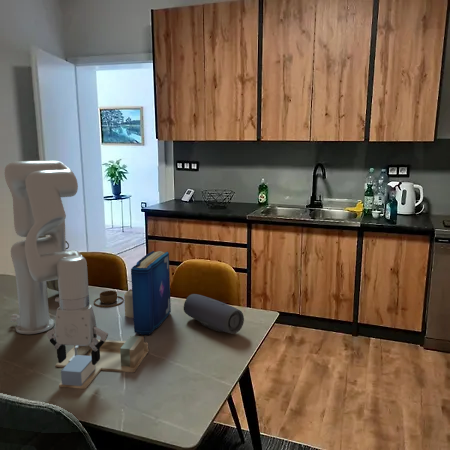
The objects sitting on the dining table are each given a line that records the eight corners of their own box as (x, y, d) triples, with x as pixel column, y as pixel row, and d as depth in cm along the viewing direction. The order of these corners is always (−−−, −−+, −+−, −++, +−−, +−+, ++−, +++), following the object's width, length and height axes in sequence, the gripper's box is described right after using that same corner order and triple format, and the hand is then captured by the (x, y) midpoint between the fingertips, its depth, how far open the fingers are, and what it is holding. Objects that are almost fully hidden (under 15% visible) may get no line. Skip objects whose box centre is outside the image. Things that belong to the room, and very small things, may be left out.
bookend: (68, 362, 129) (67, 346, 128) (82, 348, 138) (81, 333, 137) (78, 363, 129) (77, 347, 128) (91, 349, 138) (90, 334, 137)
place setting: (105, 296, 190) (105, 283, 189) (149, 299, 186) (149, 286, 184) (85, 311, 173) (84, 296, 172) (132, 315, 169) (131, 300, 168)
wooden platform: (36, 384, 119) (34, 364, 118) (77, 345, 142) (75, 328, 141) (121, 391, 116) (120, 370, 114) (148, 350, 138) (148, 332, 137)
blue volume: (150, 338, 147) (148, 266, 143) (131, 336, 149) (128, 265, 144) (171, 313, 168) (169, 250, 164) (153, 312, 170) (151, 249, 165)
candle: (127, 319, 163) (126, 293, 161) (123, 314, 168) (122, 289, 166) (141, 316, 166) (140, 291, 164) (137, 311, 170) (136, 287, 169)
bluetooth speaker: (245, 332, 152) (245, 305, 150) (226, 341, 145) (226, 312, 144) (201, 314, 168) (201, 289, 166) (182, 321, 161) (182, 295, 159)
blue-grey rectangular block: (61, 384, 118) (60, 370, 117) (77, 367, 127) (76, 354, 126) (81, 386, 117) (80, 372, 116) (95, 369, 126) (95, 356, 125)
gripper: (36, 305, 115) (42, 366, 118) (99, 308, 113) (103, 370, 116) (51, 296, 123) (56, 354, 125) (110, 298, 120) (114, 357, 123)
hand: (79, 361), depth 121 cm, fingers open, 9 cm apart
